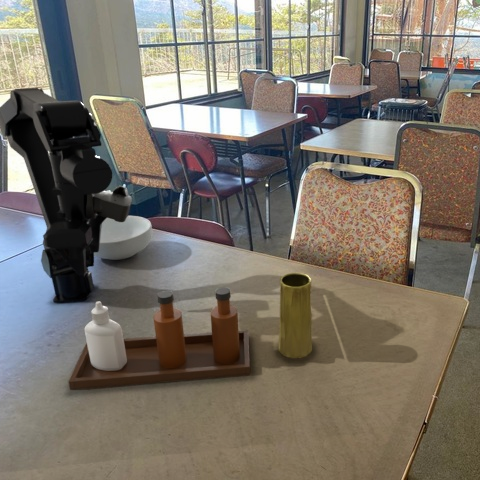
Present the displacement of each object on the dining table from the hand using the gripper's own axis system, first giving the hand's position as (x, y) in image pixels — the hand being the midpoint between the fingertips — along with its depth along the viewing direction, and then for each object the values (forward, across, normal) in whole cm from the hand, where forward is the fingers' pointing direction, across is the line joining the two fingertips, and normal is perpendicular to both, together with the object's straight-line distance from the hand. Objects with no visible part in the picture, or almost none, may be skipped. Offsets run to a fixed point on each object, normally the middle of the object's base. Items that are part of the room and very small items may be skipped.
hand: (89, 262), depth 87 cm
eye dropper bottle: (+13, -14, -5) cm, 19 cm away
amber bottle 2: (+12, -14, -24) cm, 30 cm away
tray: (+13, -14, -14) cm, 24 cm away
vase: (+13, -13, -36) cm, 40 cm away
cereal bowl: (+13, +32, +3) cm, 35 cm away
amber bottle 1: (+12, -14, -15) cm, 24 cm away
